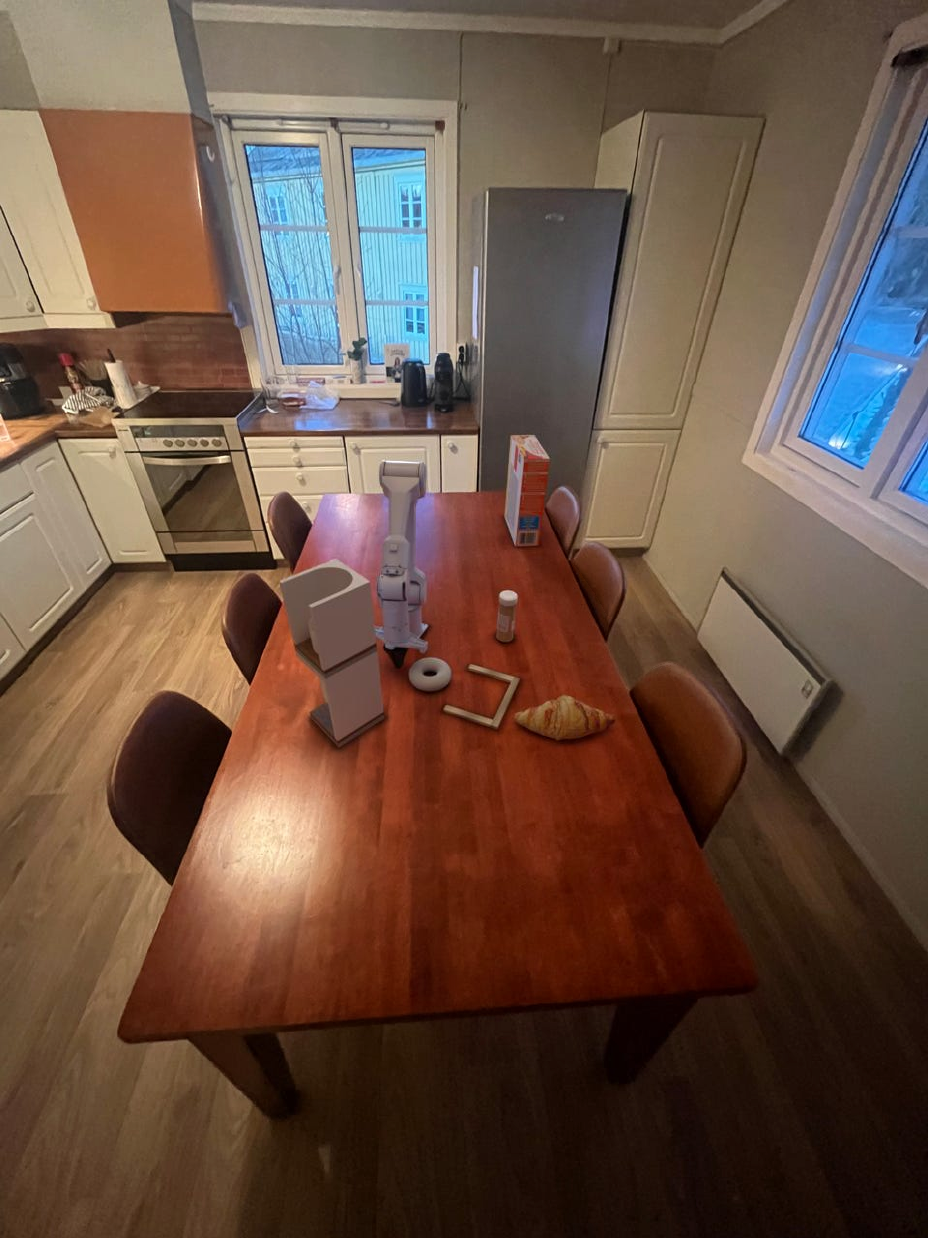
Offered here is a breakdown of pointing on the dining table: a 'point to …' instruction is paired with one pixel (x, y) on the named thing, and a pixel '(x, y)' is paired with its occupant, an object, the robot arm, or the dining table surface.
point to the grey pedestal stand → (337, 645)
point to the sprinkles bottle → (506, 615)
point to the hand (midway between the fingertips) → (399, 665)
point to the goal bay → (504, 703)
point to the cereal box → (526, 489)
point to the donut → (430, 682)
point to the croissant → (564, 719)
